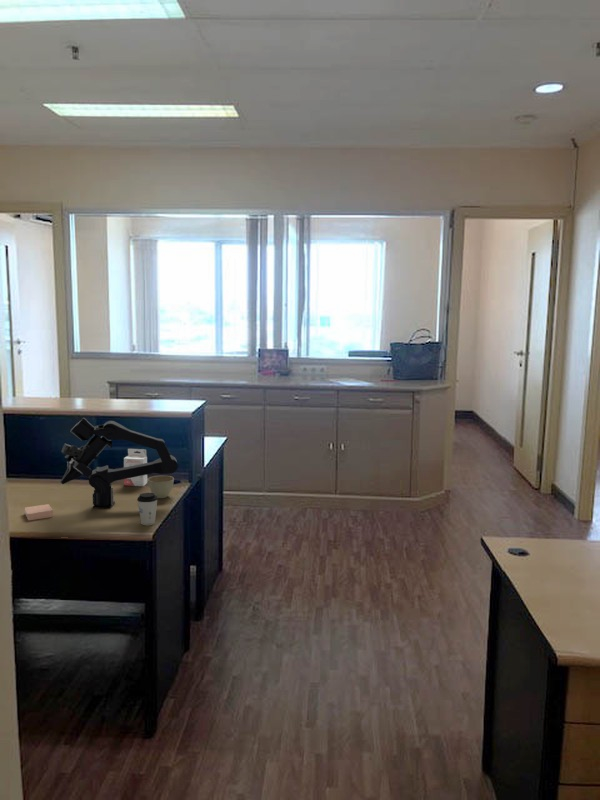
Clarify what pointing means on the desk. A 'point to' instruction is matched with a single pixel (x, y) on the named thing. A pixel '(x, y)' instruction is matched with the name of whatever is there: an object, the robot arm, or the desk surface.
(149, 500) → the coffee cup
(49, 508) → the tile
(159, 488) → the beige bowl
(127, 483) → the ink cartridge box
